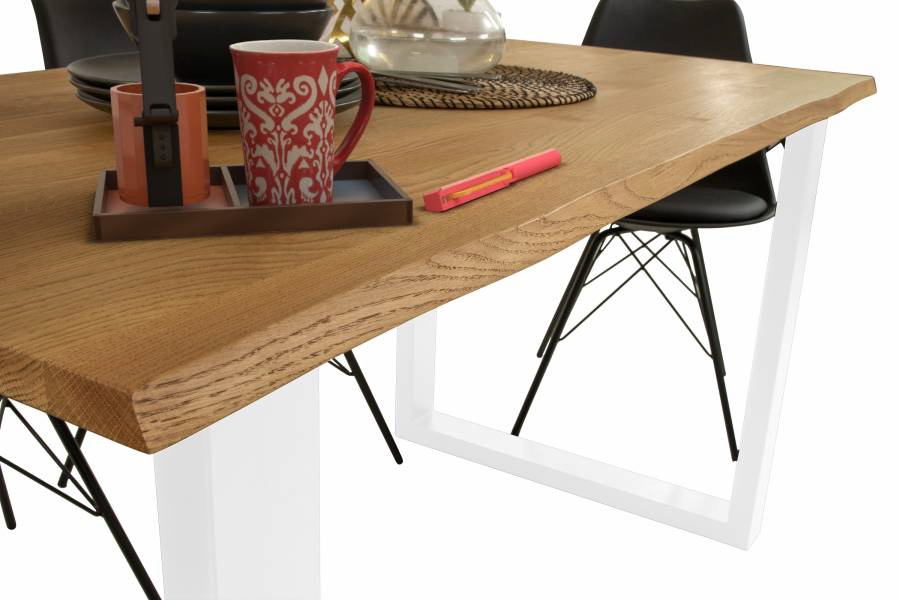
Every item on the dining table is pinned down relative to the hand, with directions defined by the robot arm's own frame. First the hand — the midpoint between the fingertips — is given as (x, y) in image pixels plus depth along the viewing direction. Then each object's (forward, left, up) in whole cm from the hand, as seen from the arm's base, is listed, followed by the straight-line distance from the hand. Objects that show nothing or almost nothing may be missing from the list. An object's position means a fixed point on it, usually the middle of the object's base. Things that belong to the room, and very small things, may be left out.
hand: (164, 193), depth 85 cm
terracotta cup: (0, 0, 0) cm, 0 cm away
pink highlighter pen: (+31, +4, -2) cm, 31 cm away
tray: (+7, 0, -2) cm, 7 cm away
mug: (+12, 0, -2) cm, 12 cm away
